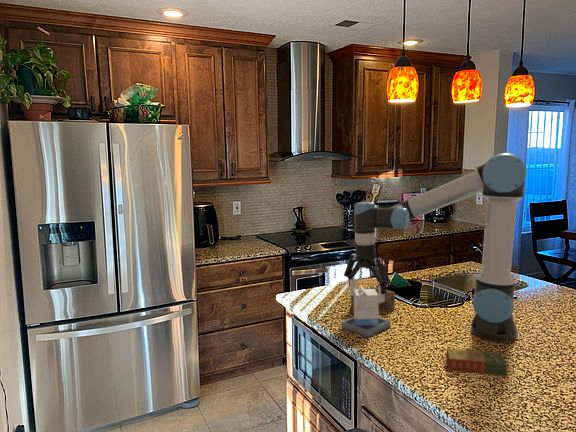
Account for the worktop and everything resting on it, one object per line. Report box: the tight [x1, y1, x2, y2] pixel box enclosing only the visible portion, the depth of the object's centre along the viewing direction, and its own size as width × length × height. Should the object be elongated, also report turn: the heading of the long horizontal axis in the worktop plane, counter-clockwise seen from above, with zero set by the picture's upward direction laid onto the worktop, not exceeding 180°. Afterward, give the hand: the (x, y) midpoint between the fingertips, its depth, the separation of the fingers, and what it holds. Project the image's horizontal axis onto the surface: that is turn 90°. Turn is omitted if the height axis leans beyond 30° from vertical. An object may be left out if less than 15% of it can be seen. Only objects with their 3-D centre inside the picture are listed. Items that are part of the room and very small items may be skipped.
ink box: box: [353, 285, 380, 326], centre depth 163 cm, size 9×8×13 cm
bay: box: [348, 286, 396, 314], centre depth 181 cm, size 13×14×8 cm
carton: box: [446, 347, 508, 378], centre depth 131 cm, size 8×16×4 cm, turn 74°
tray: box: [341, 316, 391, 338], centre depth 164 cm, size 13×14×2 cm
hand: (366, 298), depth 162 cm, fingers open, 13 cm apart
